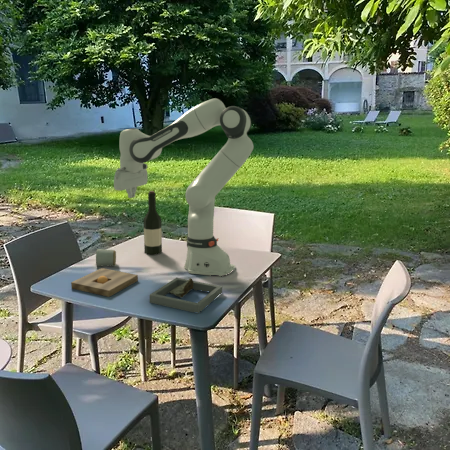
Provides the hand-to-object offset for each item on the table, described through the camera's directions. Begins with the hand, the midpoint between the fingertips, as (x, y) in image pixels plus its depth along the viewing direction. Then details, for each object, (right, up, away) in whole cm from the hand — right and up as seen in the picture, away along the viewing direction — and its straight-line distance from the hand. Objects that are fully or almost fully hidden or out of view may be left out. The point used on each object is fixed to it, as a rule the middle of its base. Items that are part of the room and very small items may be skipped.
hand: (131, 197), depth 198 cm
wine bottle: (+7, -26, +18) cm, 32 cm away
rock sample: (+25, -39, -31) cm, 55 cm away
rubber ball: (-6, -34, -24) cm, 42 cm away
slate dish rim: (+27, -39, -34) cm, 59 cm away
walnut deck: (-6, -36, -22) cm, 43 cm away
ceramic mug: (-11, -30, 0) cm, 32 cm away
